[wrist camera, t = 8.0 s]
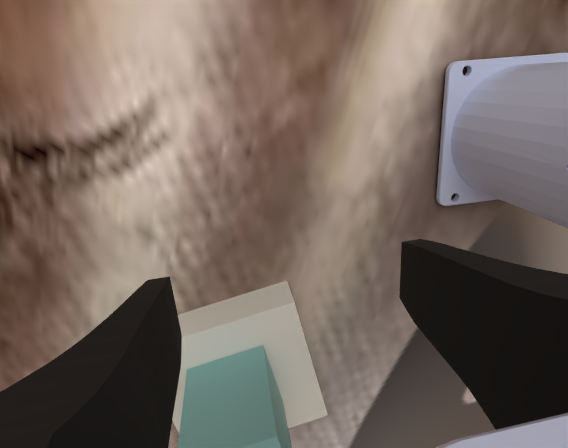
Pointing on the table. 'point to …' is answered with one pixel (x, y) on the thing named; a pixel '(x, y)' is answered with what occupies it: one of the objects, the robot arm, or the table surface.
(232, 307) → the ceramic slab
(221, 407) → the teal block
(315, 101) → the table surface
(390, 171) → the table surface
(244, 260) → the table surface
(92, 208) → the table surface
